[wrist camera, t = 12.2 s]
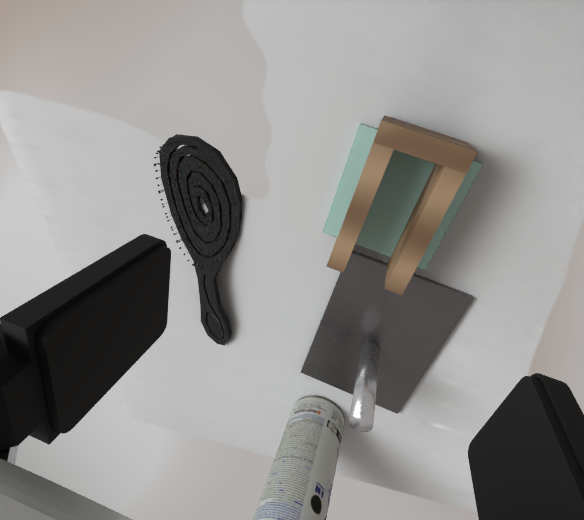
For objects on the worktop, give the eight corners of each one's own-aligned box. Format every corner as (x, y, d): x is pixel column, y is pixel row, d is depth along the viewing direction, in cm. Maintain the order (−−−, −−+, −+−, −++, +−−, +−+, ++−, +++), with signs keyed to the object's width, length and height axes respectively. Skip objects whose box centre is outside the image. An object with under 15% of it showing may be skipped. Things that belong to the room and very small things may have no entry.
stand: (349, 249, 34) (331, 305, 26) (472, 295, 33) (496, 370, 24) (301, 369, 42) (275, 441, 34) (397, 410, 41) (395, 496, 32)
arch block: (384, 115, 28) (381, 120, 24) (467, 142, 27) (477, 152, 23) (335, 245, 34) (326, 266, 30) (402, 270, 33) (401, 295, 29)
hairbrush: (182, 349, 43) (133, 136, 31) (197, 330, 46) (158, 129, 34) (245, 362, 41) (219, 138, 29) (256, 341, 44) (237, 131, 32)
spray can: (329, 440, 47) (284, 649, 29) (284, 414, 47) (214, 606, 30) (354, 413, 43) (320, 630, 26) (306, 385, 43) (240, 582, 26)
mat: (360, 123, 29) (359, 124, 29) (481, 163, 28) (482, 164, 27) (323, 229, 34) (322, 231, 33) (424, 267, 33) (425, 270, 32)
